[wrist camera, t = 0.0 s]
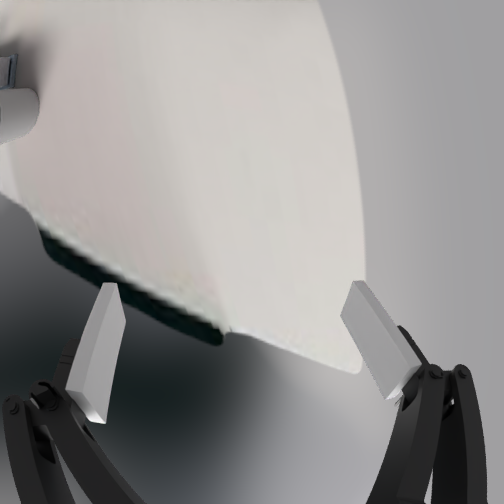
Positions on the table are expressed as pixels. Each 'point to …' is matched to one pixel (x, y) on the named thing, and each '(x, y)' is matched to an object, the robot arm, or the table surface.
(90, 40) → the table surface
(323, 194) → the table surface
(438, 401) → the robot arm
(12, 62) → the vise base
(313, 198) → the table surface
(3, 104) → the cup
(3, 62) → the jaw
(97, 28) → the table surface
